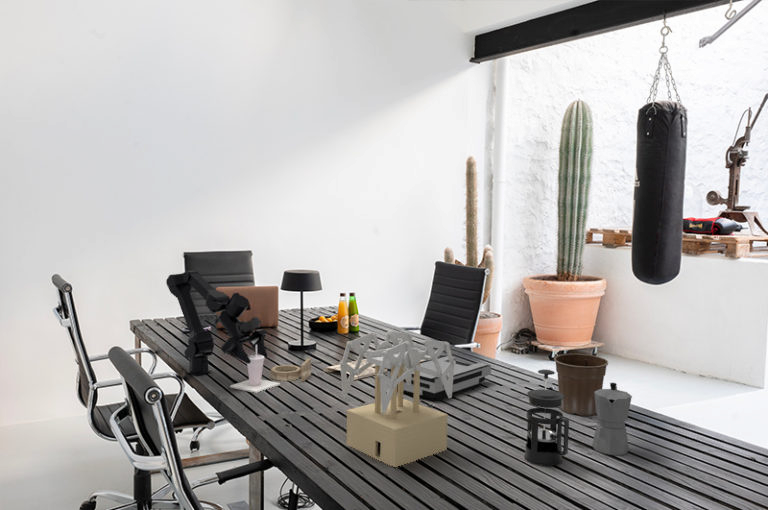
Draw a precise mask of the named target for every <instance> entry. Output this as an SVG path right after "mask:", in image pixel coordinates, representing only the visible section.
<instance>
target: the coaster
mask: <svg viewBox="0 0 768 510" xmlns="http://www.w3.org/2000/svg"><path fill="white" fill-rule="evenodd" d="M275 386H276V387H278V386H281V383H280V382H278V381H277V382H276V381H272V380H267V379H263V378H261V385H258V386H251V385H250V382H249V379H246V380H244V381H240V382H238V383H234V384H231V385H230V386H229V387H230V388H232V389H236V390H241V391H243V392H244V391H245V392H249V393H253V392H254V393H253V394H258V392H259V393H261V392H264V391H266V389H267V390H269V388H270V389H272V387H273V388H275ZM263 390H264V391H263ZM260 391H261V392H260Z"/></svg>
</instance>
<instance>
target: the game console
mask: <svg viewBox="0 0 768 510" xmlns="http://www.w3.org/2000/svg"><path fill="white" fill-rule="evenodd" d="M452 358H453V360H454V361H456V359H457V357H454V356H452ZM438 362H439V365H440V368H441V371H442V372H443V371H444V370H445V368H446V367H447V366H448V364H449V359H448V355H440V356H439V357H438ZM420 366H421V367H424V368H427V369H430V370H433V371H436V372H437V370H436V367H435V364H434V362H433V361H432V360H425V359H424V361H422V362H420ZM406 368H407V367H406ZM407 369H408V368H407ZM491 373H492V365H489V364H486V363H481V362H477V363H474V364H470V363H466V362H465V363H464V362H460V361H458V360H457V361H456V364H455V365H454V376H453V388H452V397H453V396H456V395H459V394H462V393H465V392H467V391H470V390H473V389H476V388H479V387H481V385H482V384H481V383H483V382H485V381H486V380H485V379H486V377H488V376H491V375H492V374H491ZM386 376H387V377H388V378H389V379H391V369H388V368H387V373H386ZM397 378H398V374H397ZM446 378H447V381H448V378H449V373H448V374H447V376H446ZM409 383H410V382H409ZM397 391H398V384H397ZM403 393H404V394H405V393H406V394H407V393H413V394H414V372H413V373H412V377H411V384H410V385H408V384H407V382H406V380H405V379H404V384H403ZM419 396H422V398H424V399H427V400H431V401H433V402H439V401H442V400H445V399H447V398H448V396H447V393H446V391H445V388H444V386H443V383H442V381H441V378H439V377H435V376H432V375H429V374H426V373H423V372H420V389H419ZM449 397H450V395H449ZM448 399H449V398H448Z"/></svg>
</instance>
